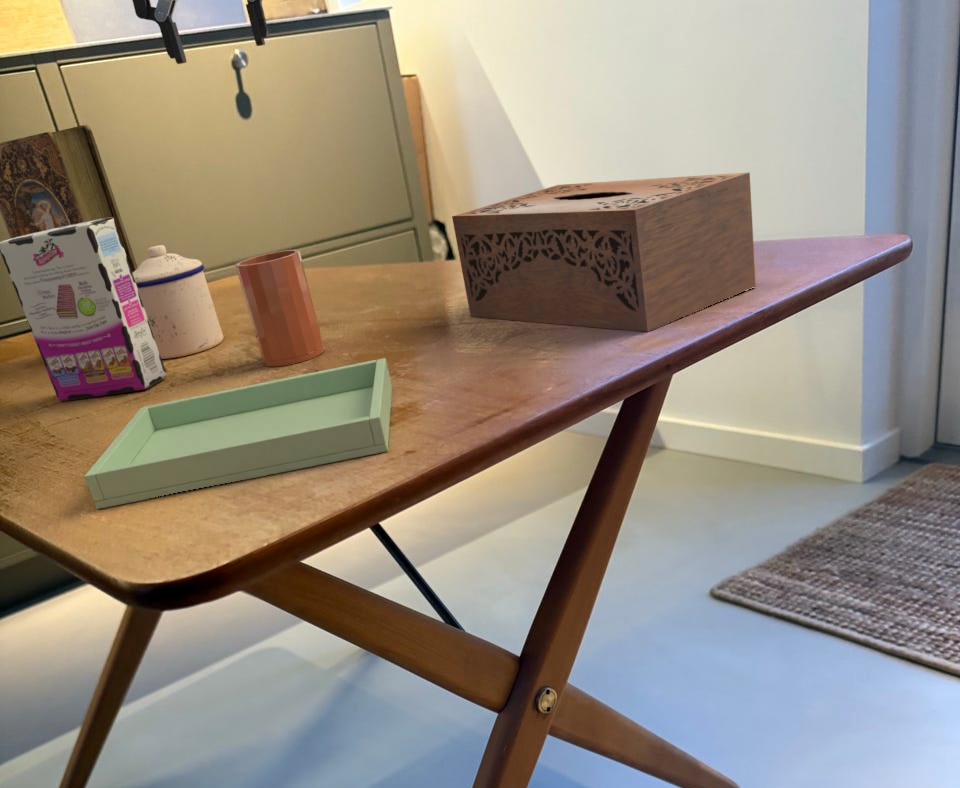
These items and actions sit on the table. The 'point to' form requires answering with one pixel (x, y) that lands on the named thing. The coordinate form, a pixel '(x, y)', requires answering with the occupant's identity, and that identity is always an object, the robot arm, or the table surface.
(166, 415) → the tray
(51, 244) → the candy bar box
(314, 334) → the cup
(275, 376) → the table surface
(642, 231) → the tissue box cover
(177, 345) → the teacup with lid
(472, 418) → the table surface
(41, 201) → the book
